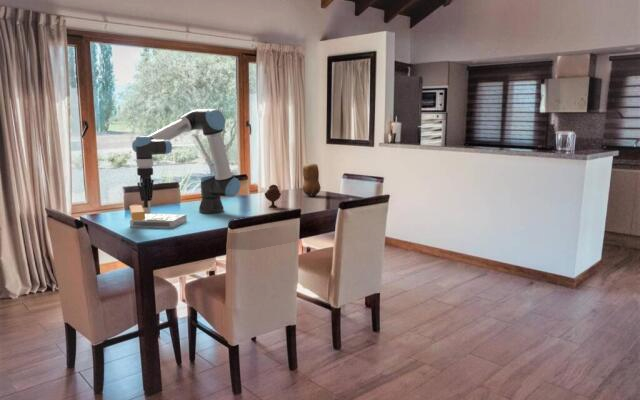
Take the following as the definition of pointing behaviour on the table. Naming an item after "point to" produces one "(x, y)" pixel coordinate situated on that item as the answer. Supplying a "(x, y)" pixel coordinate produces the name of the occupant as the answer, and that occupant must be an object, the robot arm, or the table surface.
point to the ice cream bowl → (273, 195)
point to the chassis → (160, 221)
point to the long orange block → (137, 212)
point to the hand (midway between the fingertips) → (147, 213)
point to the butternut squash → (311, 179)
